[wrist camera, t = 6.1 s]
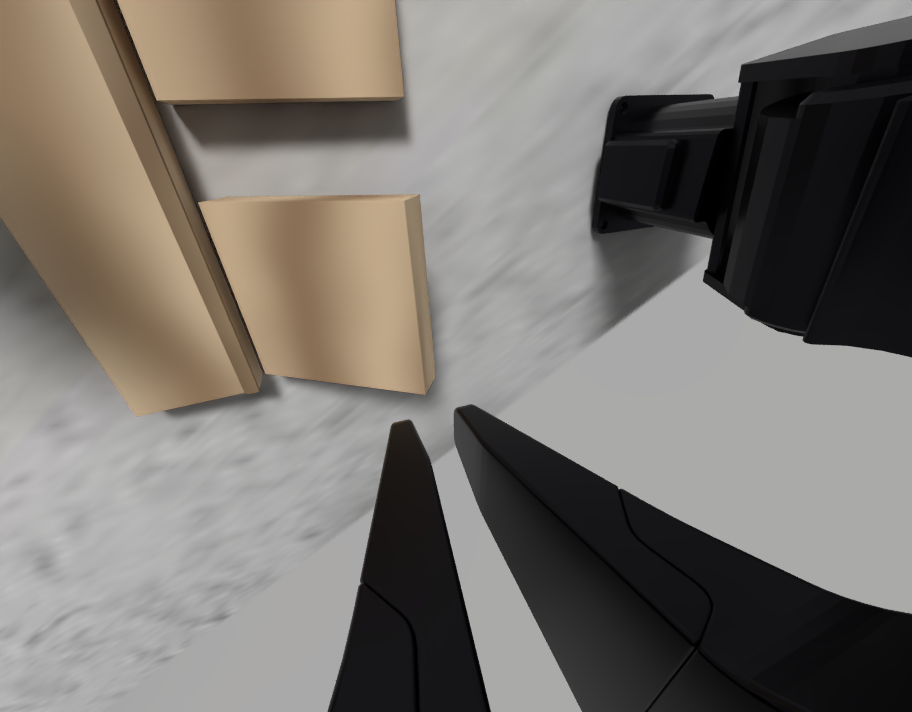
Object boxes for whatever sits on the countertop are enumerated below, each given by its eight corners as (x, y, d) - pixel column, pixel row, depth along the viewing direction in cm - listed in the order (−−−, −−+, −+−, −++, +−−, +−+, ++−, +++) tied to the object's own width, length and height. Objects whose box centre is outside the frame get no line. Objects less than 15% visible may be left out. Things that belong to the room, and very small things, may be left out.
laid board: (-24, -346, 8) (-93, -450, 7) (262, 373, 18) (259, 391, 17) (-378, -434, 7) (-561, -591, 5) (148, 397, 17) (134, 419, 15)
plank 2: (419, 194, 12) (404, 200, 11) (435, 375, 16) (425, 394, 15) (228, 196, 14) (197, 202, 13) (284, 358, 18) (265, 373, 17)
